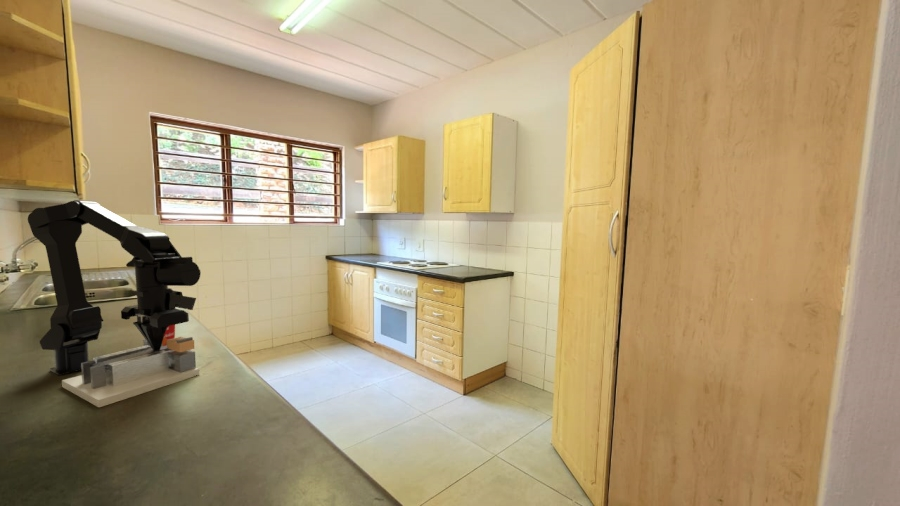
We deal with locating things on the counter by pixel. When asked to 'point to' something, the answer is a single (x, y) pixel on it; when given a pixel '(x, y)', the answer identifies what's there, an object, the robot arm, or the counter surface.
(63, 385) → the board
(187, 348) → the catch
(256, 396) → the counter surface
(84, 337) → the robot arm
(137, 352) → the grey lever
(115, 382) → the grey piece
